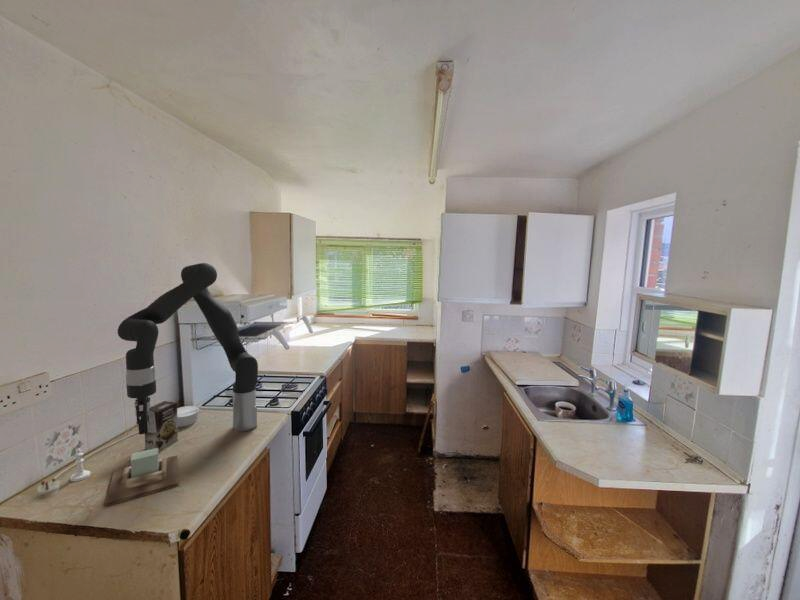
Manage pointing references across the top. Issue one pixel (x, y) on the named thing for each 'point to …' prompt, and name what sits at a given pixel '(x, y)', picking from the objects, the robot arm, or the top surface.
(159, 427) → the coffee box
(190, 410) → the ramekin
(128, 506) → the top surface
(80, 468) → the chess piece
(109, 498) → the board
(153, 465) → the key block
